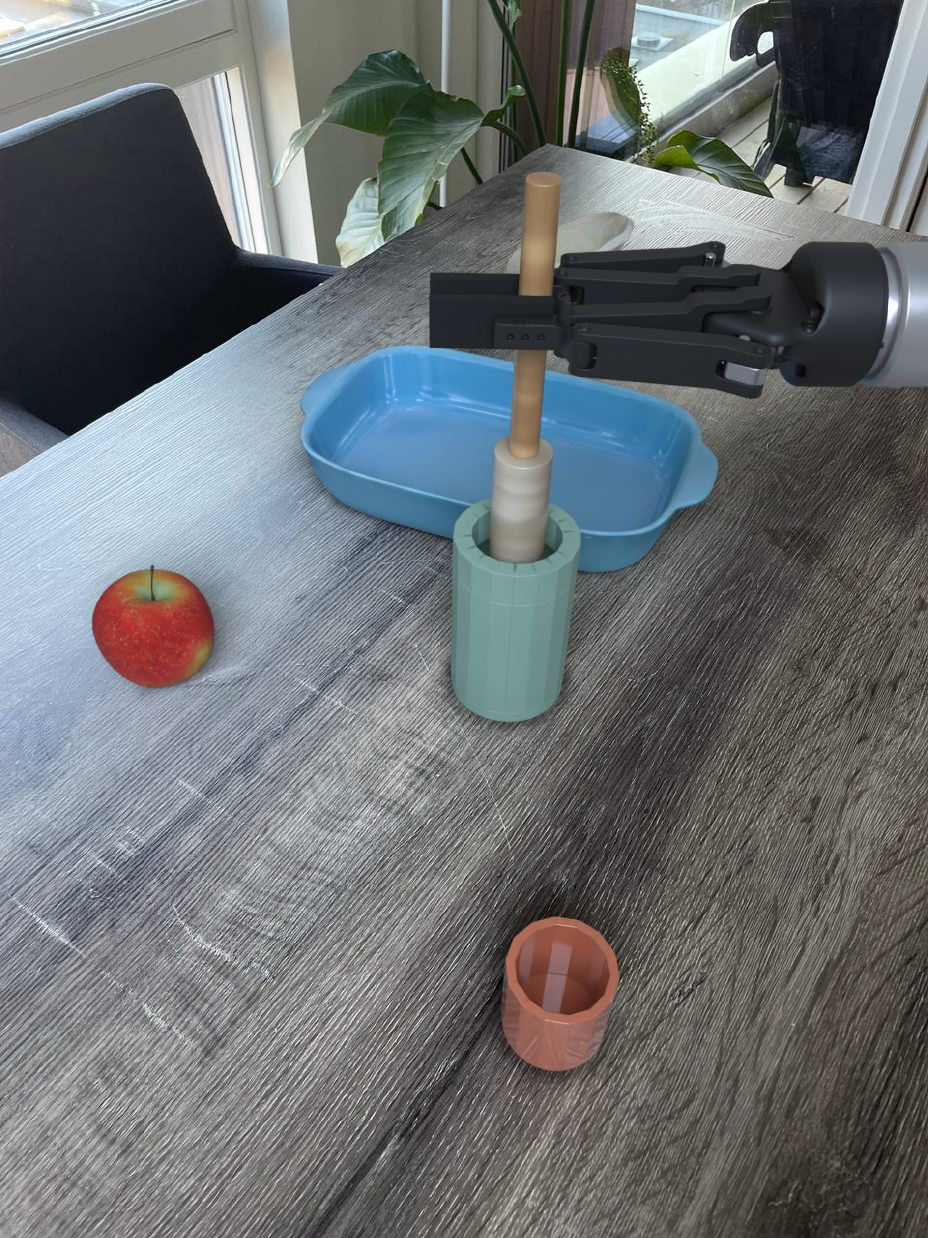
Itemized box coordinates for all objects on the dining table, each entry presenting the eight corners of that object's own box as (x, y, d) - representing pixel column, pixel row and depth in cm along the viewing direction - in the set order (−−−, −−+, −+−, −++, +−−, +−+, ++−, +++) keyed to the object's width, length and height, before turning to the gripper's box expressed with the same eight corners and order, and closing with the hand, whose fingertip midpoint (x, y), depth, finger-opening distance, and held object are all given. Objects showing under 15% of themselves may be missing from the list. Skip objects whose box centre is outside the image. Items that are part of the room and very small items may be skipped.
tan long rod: (525, 577, 64) (556, 198, 47) (478, 555, 65) (492, 180, 48) (553, 547, 66) (594, 175, 49) (508, 527, 67) (531, 158, 51)
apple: (101, 650, 75) (67, 549, 68) (207, 621, 78) (185, 520, 71) (121, 726, 70) (87, 625, 63) (234, 692, 73) (213, 591, 66)
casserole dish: (723, 469, 94) (739, 403, 89) (674, 624, 79) (690, 555, 74) (365, 389, 103) (362, 325, 98) (259, 515, 87) (248, 446, 82)
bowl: (524, 266, 124) (529, 183, 117) (635, 285, 121) (647, 202, 114) (485, 320, 114) (488, 233, 107) (605, 343, 110) (616, 255, 103)
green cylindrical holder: (524, 740, 70) (538, 594, 60) (428, 689, 73) (427, 542, 64) (582, 670, 75) (604, 525, 65) (490, 625, 78) (498, 480, 68)
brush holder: (572, 1094, 53) (584, 1047, 49) (480, 1030, 55) (483, 980, 51) (624, 1006, 56) (639, 956, 52) (535, 950, 59) (542, 897, 55)
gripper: (885, 453, 51) (427, 448, 51) (811, 314, 62) (432, 308, 61) (937, 318, 46) (426, 311, 46) (846, 191, 57) (431, 184, 56)
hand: (430, 309), depth 54 cm, fingers closed on tan long rod, 2 cm apart
